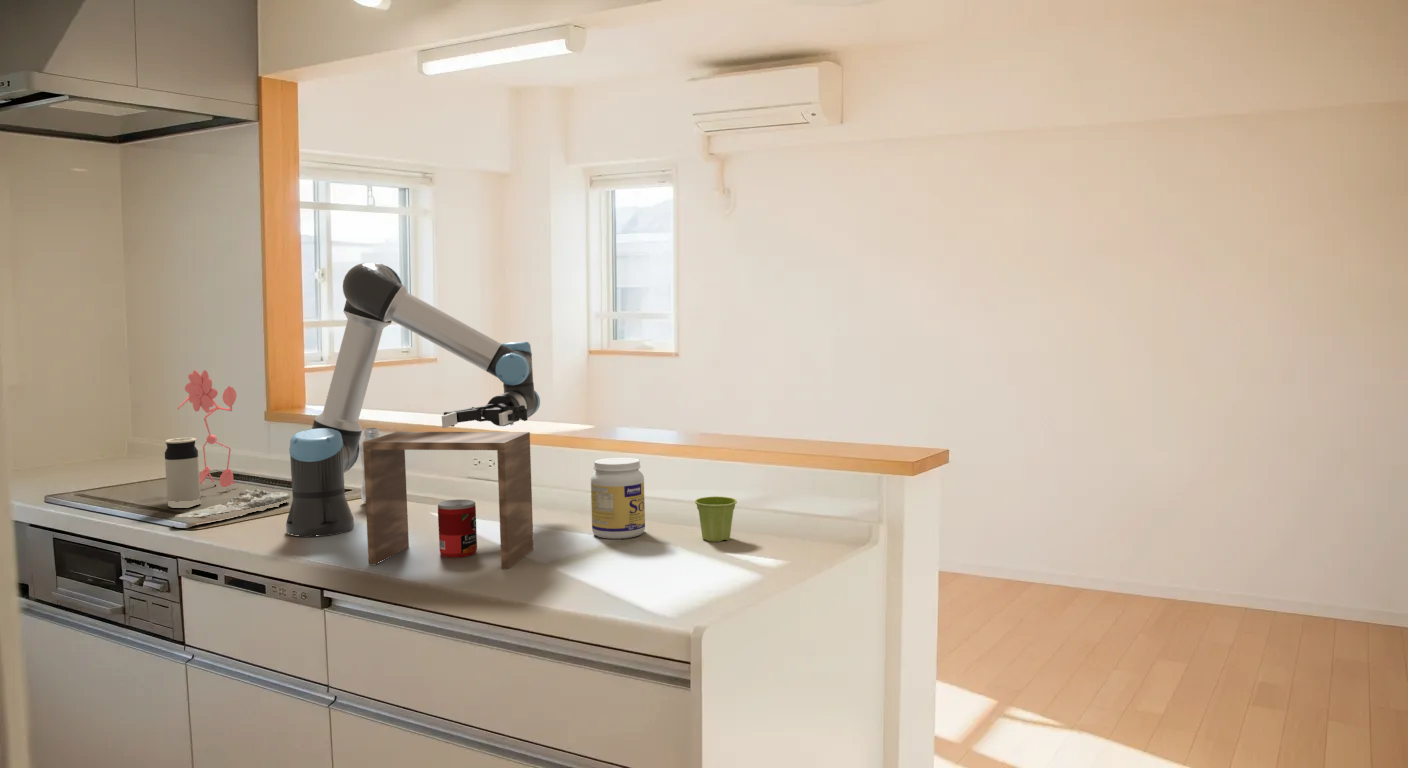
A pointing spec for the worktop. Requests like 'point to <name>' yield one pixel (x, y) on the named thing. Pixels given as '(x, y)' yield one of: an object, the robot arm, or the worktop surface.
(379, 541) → the shelf riser
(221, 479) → the pink flower figurine
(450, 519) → the canned food
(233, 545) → the worktop surface
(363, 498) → the plastic bottle
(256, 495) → the elongated rock
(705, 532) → the plant pot
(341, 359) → the robot arm
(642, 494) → the supplement tub
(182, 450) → the travel mug
